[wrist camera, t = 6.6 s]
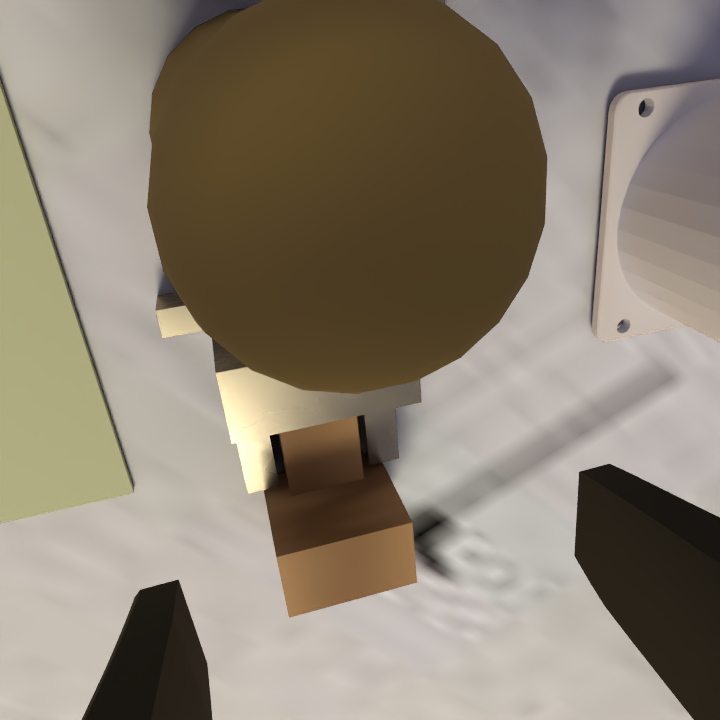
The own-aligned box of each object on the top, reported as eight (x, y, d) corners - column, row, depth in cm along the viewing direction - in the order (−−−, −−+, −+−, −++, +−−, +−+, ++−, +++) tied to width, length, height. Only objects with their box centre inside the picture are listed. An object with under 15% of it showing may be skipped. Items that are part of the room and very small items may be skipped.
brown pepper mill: (246, 289, 18) (318, 543, 8) (95, 101, 15) (-60, 164, 6) (416, 166, 18) (691, 283, 8) (295, -48, 15) (500, -260, 5)
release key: (360, 296, 19) (398, 346, 15) (381, 504, 23) (416, 582, 19) (228, 320, 18) (239, 378, 15) (272, 531, 22) (289, 617, 18)
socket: (424, -85, 15) (495, -130, 12) (445, 425, 22) (495, 494, 18) (64, -60, 14) (23, -103, 10) (205, 481, 20) (209, 566, 17)
